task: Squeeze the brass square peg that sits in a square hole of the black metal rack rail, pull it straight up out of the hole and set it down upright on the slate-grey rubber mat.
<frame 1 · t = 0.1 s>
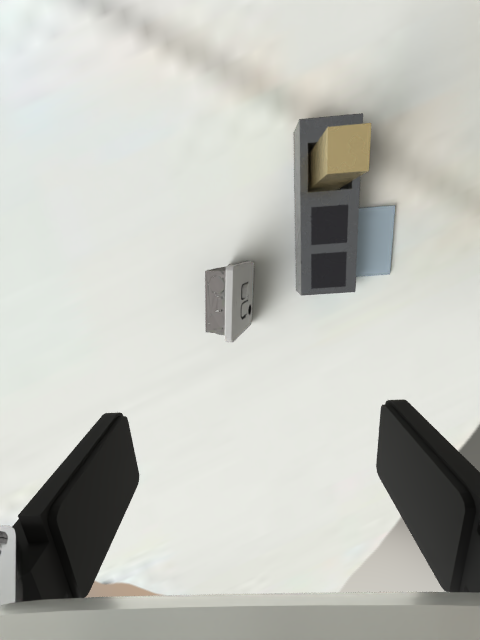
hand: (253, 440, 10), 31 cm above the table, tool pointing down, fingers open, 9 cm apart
brass peg: (321, 174, 36), resting in rack rail
electrical switch: (234, 294, 40), on the table
rubber mat: (371, 242, 38), on the table
rack rail: (320, 215, 37), on the table
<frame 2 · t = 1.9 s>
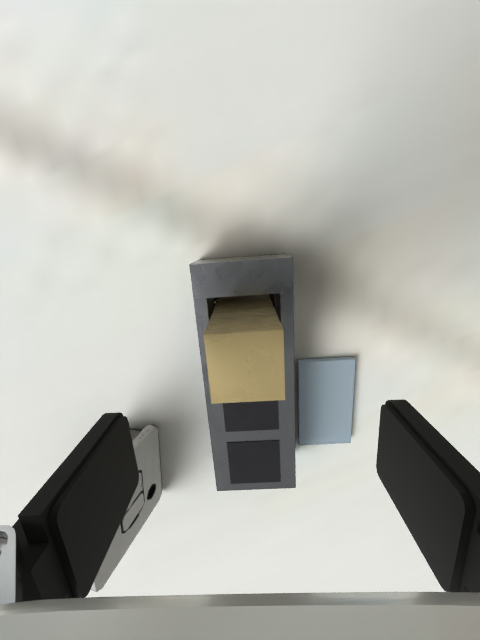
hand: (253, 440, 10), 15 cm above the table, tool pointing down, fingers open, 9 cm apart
brass peg: (245, 315, 24), resting in rack rail
electrical switch: (136, 458, 29), on the table
rubber mat: (324, 400, 26), on the table
rack rail: (248, 367, 25), on the table
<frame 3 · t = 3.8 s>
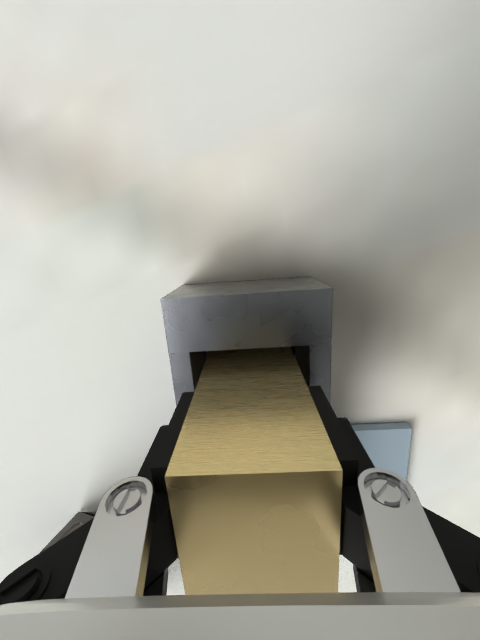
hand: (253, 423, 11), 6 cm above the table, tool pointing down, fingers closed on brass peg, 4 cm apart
brass peg: (251, 364, 16), resting in rack rail, touching gripper
electrical switch: (101, 549, 21), on the table
rubber mat: (362, 481, 18), on the table
rack rail: (255, 435, 18), on the table
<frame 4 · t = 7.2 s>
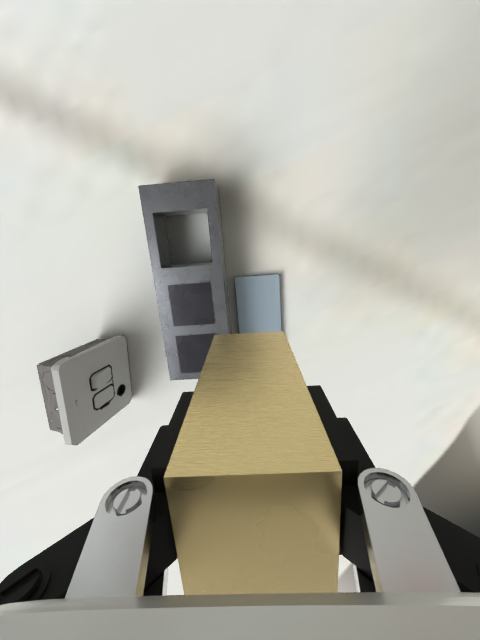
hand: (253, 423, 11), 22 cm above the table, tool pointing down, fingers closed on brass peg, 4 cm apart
brass peg: (250, 364, 16), point 16 cm above the table, touching gripper
electrical switch: (110, 368, 35), on the table
rubber mat: (258, 313, 32), on the table
rack rail: (196, 284, 32), on the table
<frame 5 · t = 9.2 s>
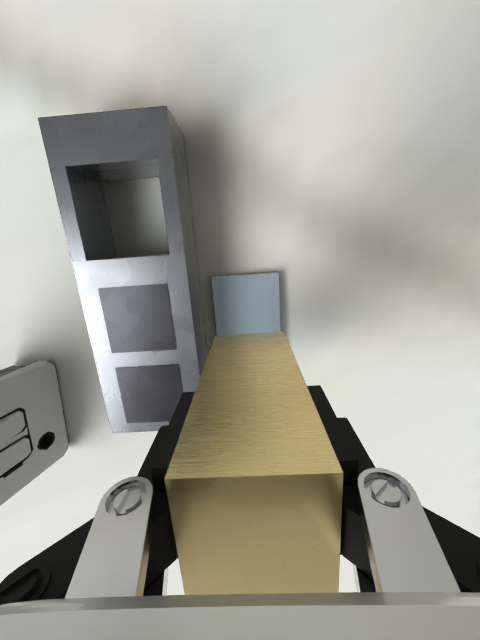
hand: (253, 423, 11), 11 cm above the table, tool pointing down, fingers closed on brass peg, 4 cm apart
brass peg: (251, 365, 16), point 6 cm above the table, touching gripper
electrical switch: (36, 405, 25), on the table
rubber mat: (248, 330, 22), on the table
rack rail: (154, 286, 21), on the table
when the fingers open (7 cm above the table, at t = 10.7 s): brass peg drops 1 cm, resting on rubber mat.
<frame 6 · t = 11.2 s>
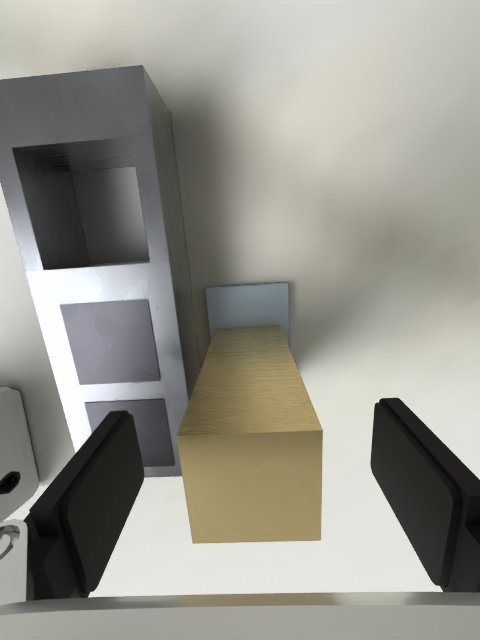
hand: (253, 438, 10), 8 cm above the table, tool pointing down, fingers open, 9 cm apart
brass peg: (249, 355, 18), point 1 cm above the table, touching rubber mat
electrical switch: (1, 437, 21), on the table
rubber mat: (250, 351, 18), on the table
rack rail: (137, 299, 17), on the table
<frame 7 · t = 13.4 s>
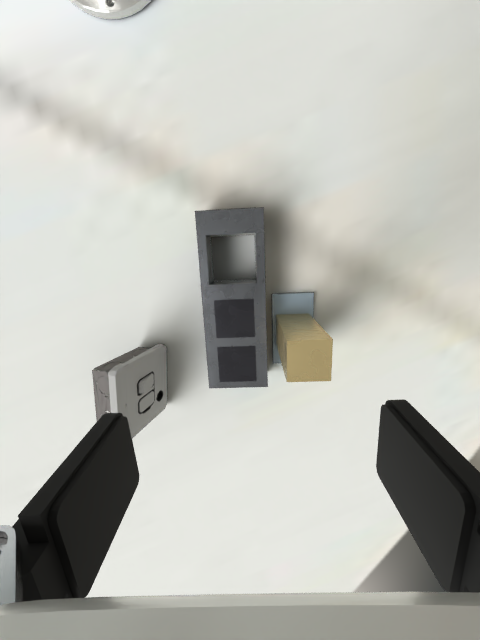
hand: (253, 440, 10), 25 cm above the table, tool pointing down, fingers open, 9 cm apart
brass peg: (292, 329, 34), point 1 cm above the table, touching rubber mat
electrical switch: (148, 374, 37), on the table
rubber mat: (292, 328, 35), on the table
rack rail: (235, 299, 34), on the table
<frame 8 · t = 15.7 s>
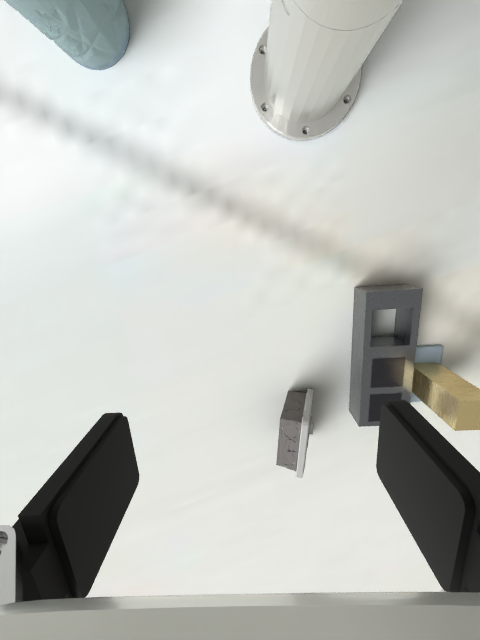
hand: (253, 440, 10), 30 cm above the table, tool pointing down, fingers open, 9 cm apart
brass peg: (421, 375, 41), point 1 cm above the table, touching rubber mat
electrical switch: (292, 411, 44), on the table
rubber mat: (419, 373, 42), on the table
rack rail: (375, 351, 41), on the table
grey-green cup: (94, 29, 32), on the table
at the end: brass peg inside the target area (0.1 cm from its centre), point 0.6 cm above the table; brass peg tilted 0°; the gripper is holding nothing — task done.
